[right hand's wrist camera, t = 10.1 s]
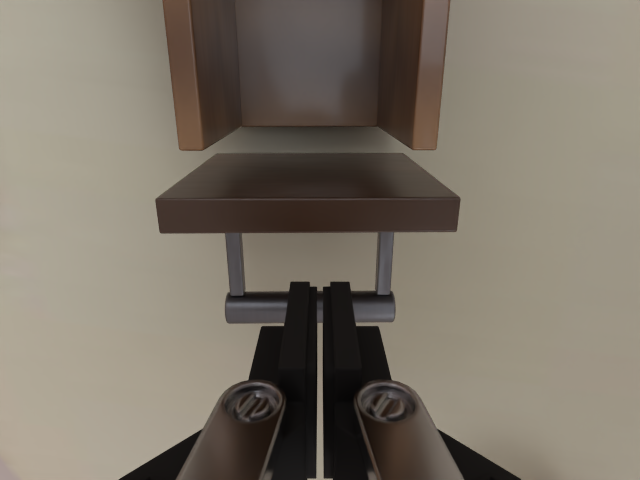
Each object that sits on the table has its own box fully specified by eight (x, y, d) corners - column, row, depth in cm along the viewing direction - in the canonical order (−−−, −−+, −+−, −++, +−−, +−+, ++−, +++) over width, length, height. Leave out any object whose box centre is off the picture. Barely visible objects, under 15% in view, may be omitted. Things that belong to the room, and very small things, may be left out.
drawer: (395, 269, 25) (441, 371, 16) (225, 271, 25) (178, 373, 16) (434, -300, 16) (569, -724, 8) (177, -304, 16) (25, -742, 8)
